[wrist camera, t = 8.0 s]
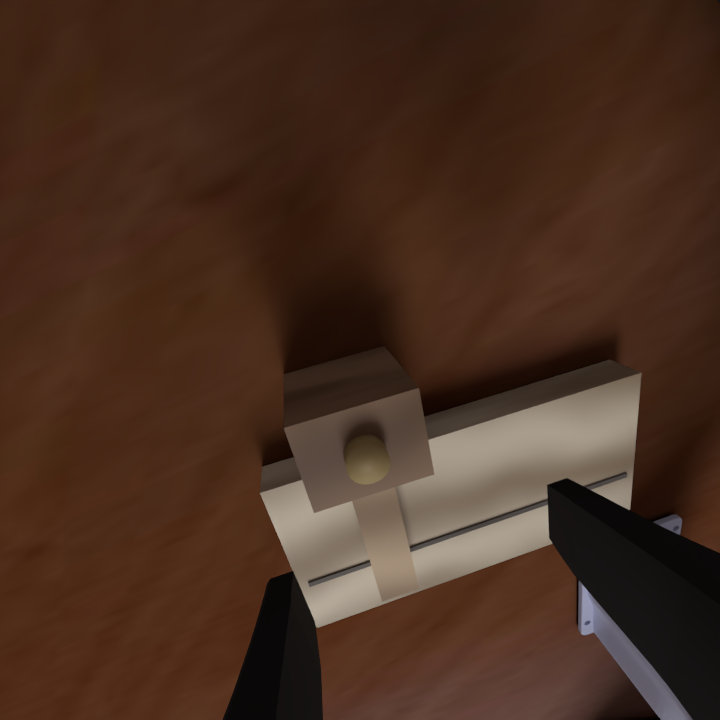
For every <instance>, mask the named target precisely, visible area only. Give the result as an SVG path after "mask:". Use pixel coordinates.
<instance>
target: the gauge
mask: <svg viewBox="0 0 720 720" xmlns="http://www.w3.org/2000/svg"><path fill="white" fill-rule="evenodd" d="M284 430H285V433H286V436H287V439H288V442H289V444H290V447H291V450H292V453H293V456H294V458H295V461H296V464H297V467H298V470H299V472H300V475H301V478H302V481H303V484H304V486H305V489H306V492H307V495H308V498H309V500H310V503H311V506H312V509H313V512H314V513H316V512H319V511H322V510H326V509H329V508H332V507H335V506H338V505H341V504H344V503H347V502H350V501H352V502H353V506H354V509H355V512H356V516H357V519H358V522H359V526H360V529H361V532H362V536H363V539H364V543H365V546H366V549H367V553H368V556H369V559H370V563H371V566H372V569H373V573H374V576H375V579H376V583H377V586H378V590H379V593H380V596H381V600H382V602H383V601H386V600H389V599H392V598H394V597H397V596H400V595H403V594H406V593H409V592H411V591H414V590H417V589H419V586H418V582H417V577H416V573H415V569H414V565H413V560H412V556H411V552H410V548H409V543H408V539H407V535H406V530H405V526H404V522H403V518H402V513H401V509H400V505H399V500H398V496H397V492H396V488H395V487H397V486H400V485H403V484H406V483H409V482H412V481H415V480H419V479H422V478H425V477H428V476H431V475H434V469H433V464H432V458H431V452H430V447H429V441H428V436H427V430H426V424H425V419H424V413H423V408H422V402H421V396H420V391H419V387H418V386H417V385H416V384H415V382H414V381H413V380H412V379H411V378H410V376H409V375H408V374H407V373H406V372H405V370H404V369H403V368H402V367H401V366H400V364H399V363H398V362H397V361H396V359H395V358H394V357H393V356H392V355H391V353H390V352H389V351H388V350H387V349H386V347H385V346H382V347H378V348H375V349H371V350H368V351H364V352H361V353H357V354H354V355H350V356H347V357H343V358H339V359H336V360H332V361H329V362H325V363H322V364H318V365H315V366H311V367H308V368H304V369H301V370H297V371H293V372H290V373H286V374H284Z"/></svg>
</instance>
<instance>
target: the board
mask: <svg viewBox="0 0 720 720" xmlns="http://www.w3.org/2000/svg"><path fill="white" fill-rule="evenodd" d="M640 384H641V372H639V371H636V370H634V369H631V368H629V367H626V366H624V365H622V364H619V363H617V362H614V361H612V360H607V361H603V362H600V363H597V364H594V365H590V366H587V367H584V368H581V369H577V370H574V371H571V372H568V373H564V374H561V375H558V376H555V377H551V378H548V379H545V380H542V381H538V382H535V383H532V384H529V385H526V386H522V387H519V388H516V389H513V390H509V391H506V392H503V393H500V394H496V395H493V396H490V397H487V398H483V399H480V400H477V401H474V402H470V403H467V404H464V405H461V406H457V407H454V408H451V409H448V410H444V411H441V412H438V413H435V414H432V415H428V416H425V417H424V419H425V424H426V430H427V436H428V441H429V447H430V452H431V458H432V464H433V469H434V475H431V476H428V477H425V478H422V479H419V480H415V481H412V482H409V483H406V484H403V485H400V486H397V487H395V488H396V492H397V496H398V500H399V505H400V509H401V513H402V518H403V522H404V526H405V530H406V535H407V539H408V543H409V548H410V552H411V556H412V560H413V565H414V569H415V573H416V577H417V582H418V586H419V589H417V590H414V591H411V592H409V593H406V594H403V595H400V596H397V597H394V598H392V599H389V600H386V601H383V602H382V600H381V596H380V593H379V590H378V586H377V583H376V579H375V576H374V573H373V569H372V566H371V563H370V559H369V556H368V553H367V549H366V546H365V543H364V539H363V536H362V532H361V529H360V526H359V522H358V519H357V516H356V512H355V509H354V506H353V502H352V501H350V502H347V503H344V504H341V505H338V506H335V507H332V508H329V509H326V510H322V511H319V512H316V513H314V512H313V509H312V506H311V503H310V500H309V498H308V495H307V492H306V489H305V486H304V484H303V481H302V478H301V475H300V472H299V470H298V467H297V464H296V461H295V458H294V457H292V458H289V459H286V460H282V461H279V462H276V463H273V464H269V465H266V466H263V467H262V476H261V487H260V494H261V497H262V499H263V501H264V504H265V506H266V508H267V511H268V513H269V516H270V518H271V520H272V523H273V525H274V527H275V530H276V532H277V535H278V537H279V539H280V542H281V544H282V546H283V549H284V551H285V553H286V556H287V558H288V561H289V563H290V565H291V568H292V570H293V571H294V574H295V576H296V578H297V581H298V583H299V585H300V588H301V590H302V593H303V595H304V597H305V600H306V602H307V604H308V607H309V609H310V611H311V614H312V616H313V618H314V621H315V624H316V627H317V628H318V627H321V626H324V625H327V624H329V623H332V622H335V621H338V620H341V619H343V618H346V617H349V616H352V615H355V614H357V613H360V612H363V611H366V610H368V609H371V608H374V607H377V606H380V605H382V604H385V603H388V602H391V601H394V600H396V599H399V598H402V597H405V596H408V595H410V594H413V593H416V592H419V591H421V590H424V589H427V588H430V587H433V586H435V585H438V584H441V583H444V582H447V581H449V580H452V579H455V578H458V577H461V576H463V575H466V574H469V573H472V572H474V571H477V570H480V569H483V568H486V567H488V566H491V565H494V564H497V563H500V562H502V561H505V560H508V559H511V558H513V557H516V556H519V555H522V554H525V553H527V552H530V551H533V550H536V549H539V548H541V547H544V546H547V545H550V544H553V543H552V542H551V540H550V539H549V522H548V495H547V485H548V484H551V483H554V482H557V481H559V480H562V479H565V478H568V479H570V480H572V481H574V482H576V483H578V484H580V485H582V486H584V487H586V488H588V489H590V490H592V491H593V492H595V493H597V494H599V495H601V496H603V497H605V498H607V499H609V500H611V501H613V502H615V503H616V504H618V505H620V506H622V507H624V508H626V509H628V510H630V506H631V494H632V482H633V470H634V457H635V445H636V433H637V421H638V409H639V397H640Z"/></svg>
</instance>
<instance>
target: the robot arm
mask: <svg viewBox="0 0 720 720" xmlns="http://www.w3.org/2000/svg"><path fill="white" fill-rule="evenodd" d="M547 495H548V522H549V539H550V540H551V542H552V543H553V545H554V546H555V548H556V549H557V551H558V552H559V554H560V555H561V557H562V558H563V559H564V561H565V562H566V564H567V565H568V566H569V568H570V569H571V571H572V572H573V574H574V575H575V576H576V577H577V579H578V580H579V604H578V630H579V631H580V633H581V634H582V635H587V634H590V633H593V632H594V633H595V634H596V636H597V637H598V638H599V640H600V641H601V642H602V643H603V645H604V646H605V647H606V649H607V650H608V651H609V653H610V654H611V655H612V657H613V658H614V659H615V661H616V662H617V663H618V664H619V666H620V667H621V668H622V670H623V671H624V672H625V674H626V675H627V676H628V678H629V679H630V680H631V682H632V683H633V684H634V685H635V687H636V688H637V689H638V691H639V692H640V693H641V695H642V696H643V697H644V699H645V700H646V701H647V703H648V704H649V705H650V706H651V708H652V709H653V710H654V712H655V713H656V714H657V716H658V717H659V718H660V719H661V720H720V553H718V552H716V551H713V550H711V549H709V548H707V547H705V546H702V545H700V544H698V543H696V542H693V541H691V540H689V539H687V538H685V537H683V536H681V535H680V532H681V526H682V519H681V518H680V517H679V516H678V515H675V514H674V515H670V516H667V517H665V518H662V519H659V520H656V521H654V522H652V521H650V520H648V519H646V518H644V517H642V516H640V515H638V514H636V513H634V512H632V511H630V510H628V509H626V508H624V507H622V506H620V505H618V504H616V503H615V502H613V501H611V500H609V499H607V498H605V497H603V496H601V495H599V494H597V493H595V492H593V491H592V490H590V489H588V488H586V487H584V486H582V485H580V484H578V483H576V482H574V481H572V480H570V479H568V478H565V479H562V480H559V481H557V482H554V483H551V484H548V485H547ZM223 720H323V711H322V685H321V666H320V658H319V650H318V642H317V634H316V627H315V621H314V618H313V616H312V614H311V611H310V609H309V607H308V604H307V602H306V600H305V597H304V595H303V593H302V590H301V588H300V585H299V583H298V581H297V578H296V576H295V574H294V571H292V572H289V573H286V574H283V575H280V576H277V577H274V578H271V579H270V580H269V582H268V583H267V587H266V591H265V594H264V598H263V602H262V605H261V609H260V612H259V616H258V619H257V622H256V626H255V629H254V632H253V635H252V638H251V642H250V645H249V648H248V651H247V654H246V657H245V660H244V663H243V665H242V668H241V671H240V674H239V677H238V680H237V683H236V686H235V689H234V691H233V694H232V697H231V700H230V702H229V705H228V707H227V710H226V713H225V715H224V718H223Z"/></svg>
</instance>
